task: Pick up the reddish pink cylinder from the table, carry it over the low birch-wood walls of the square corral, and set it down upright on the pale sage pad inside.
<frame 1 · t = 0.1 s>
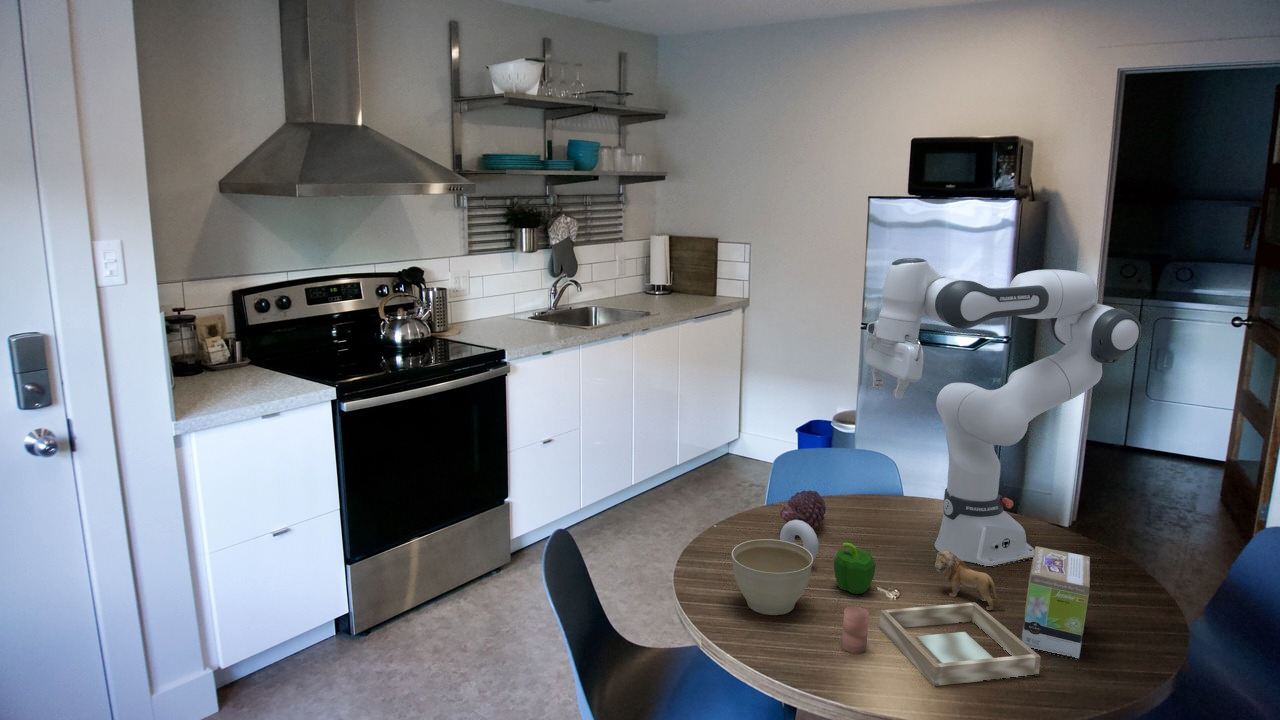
hand: (887, 393, 186), 39 cm above the table, tool pointing down, fingers open, 8 cm apart
donut: (797, 563, 190), on the table
bell pepper: (853, 589, 178), on the table
planter bowl: (769, 605, 170), on the table
lion figurine: (965, 600, 174), on the table
tea box: (1051, 636, 160), on the table
corral: (955, 649, 154), on the table
pine cone: (805, 530, 209), on the table
reddish pink cylinder: (854, 647, 154), on the table
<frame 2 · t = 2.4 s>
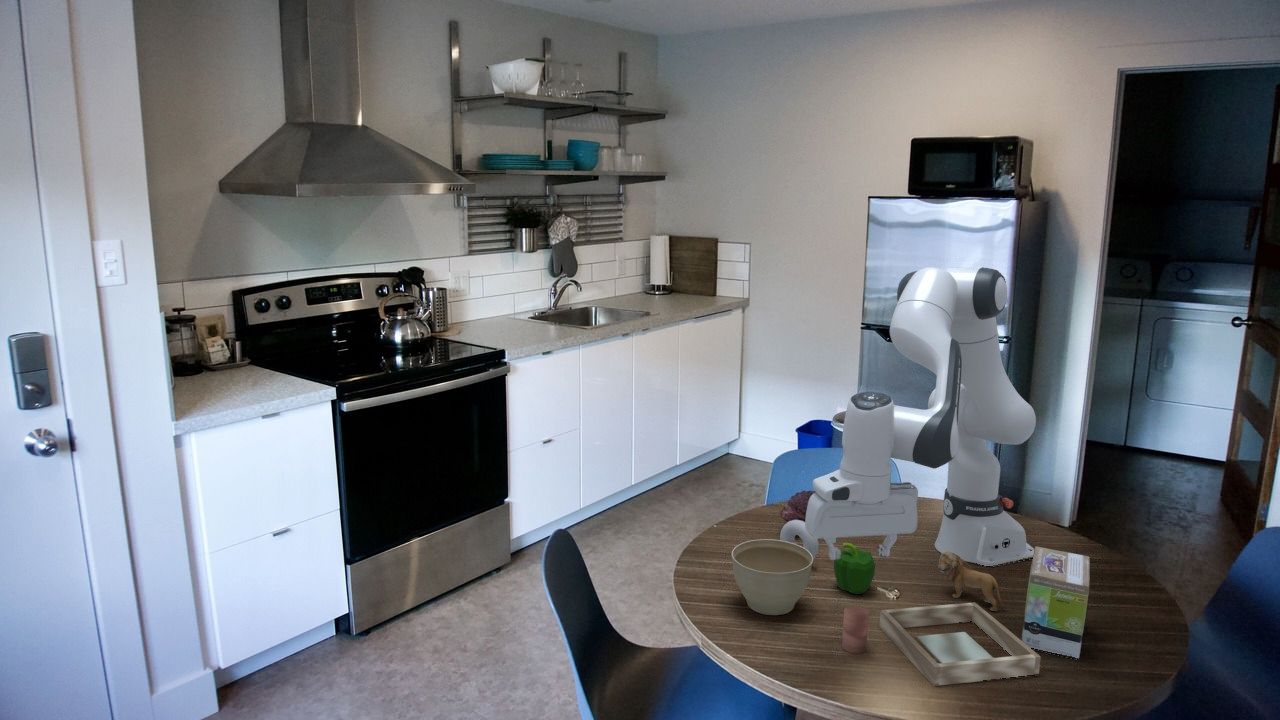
hand: (858, 557, 151), 18 cm above the table, tool pointing down, fingers open, 8 cm apart
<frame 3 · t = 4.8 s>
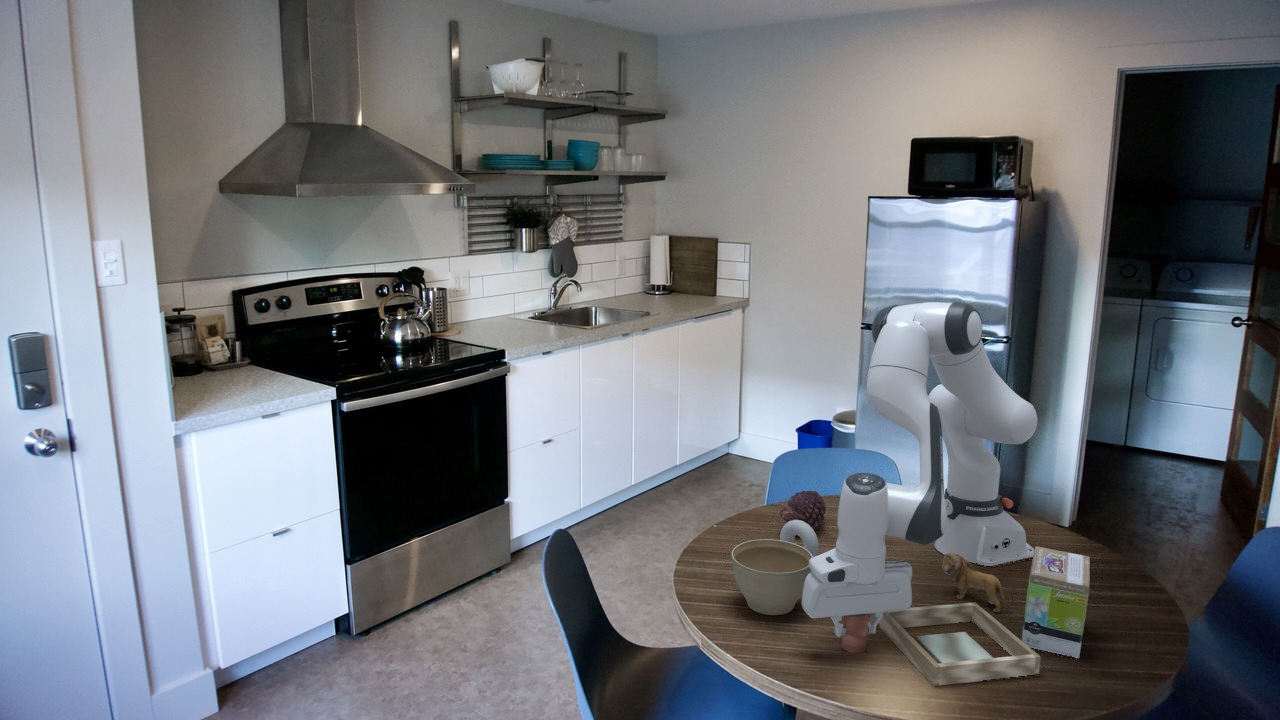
hand: (854, 633, 154), 3 cm above the table, tool pointing down, fingers closed on reddish pink cylinder, 4 cm apart
reddish pink cylinder: (854, 647, 154), on the table, touching gripper
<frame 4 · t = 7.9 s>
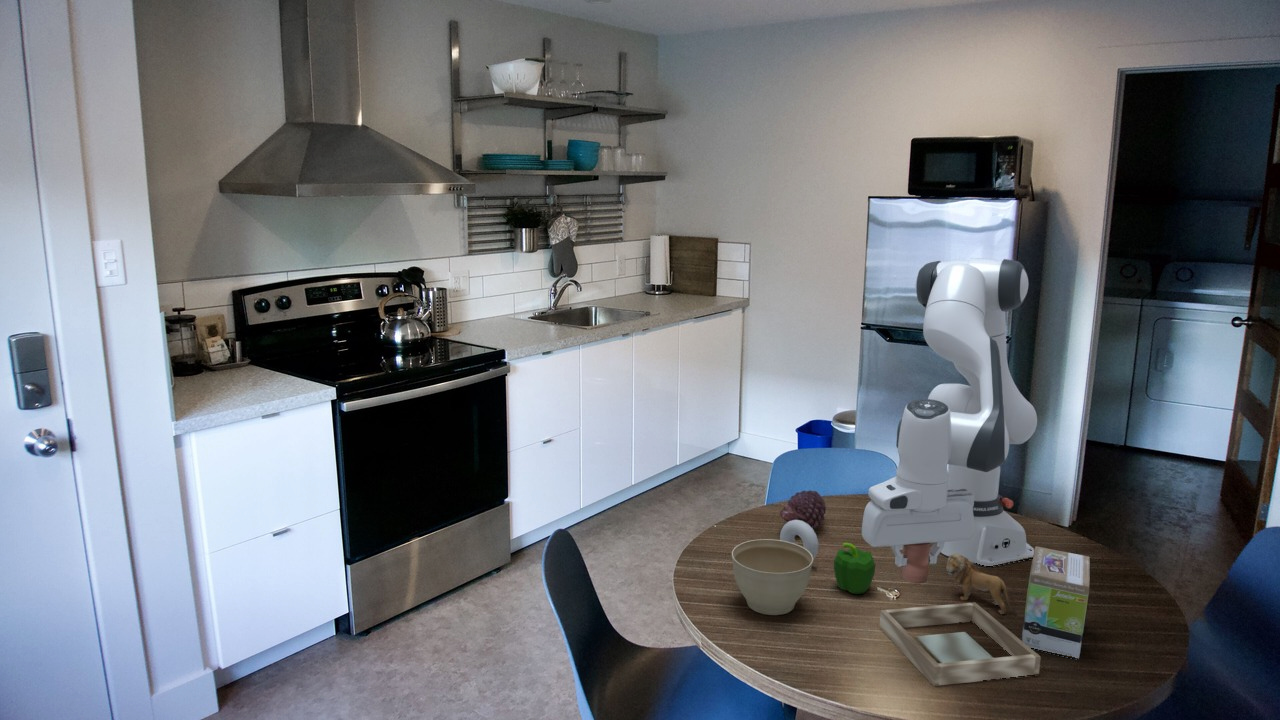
hand: (915, 564, 151), 16 cm above the table, tool pointing down, fingers closed on reddish pink cylinder, 4 cm apart
reddish pink cylinder: (914, 577, 152), point 14 cm above the table, touching gripper
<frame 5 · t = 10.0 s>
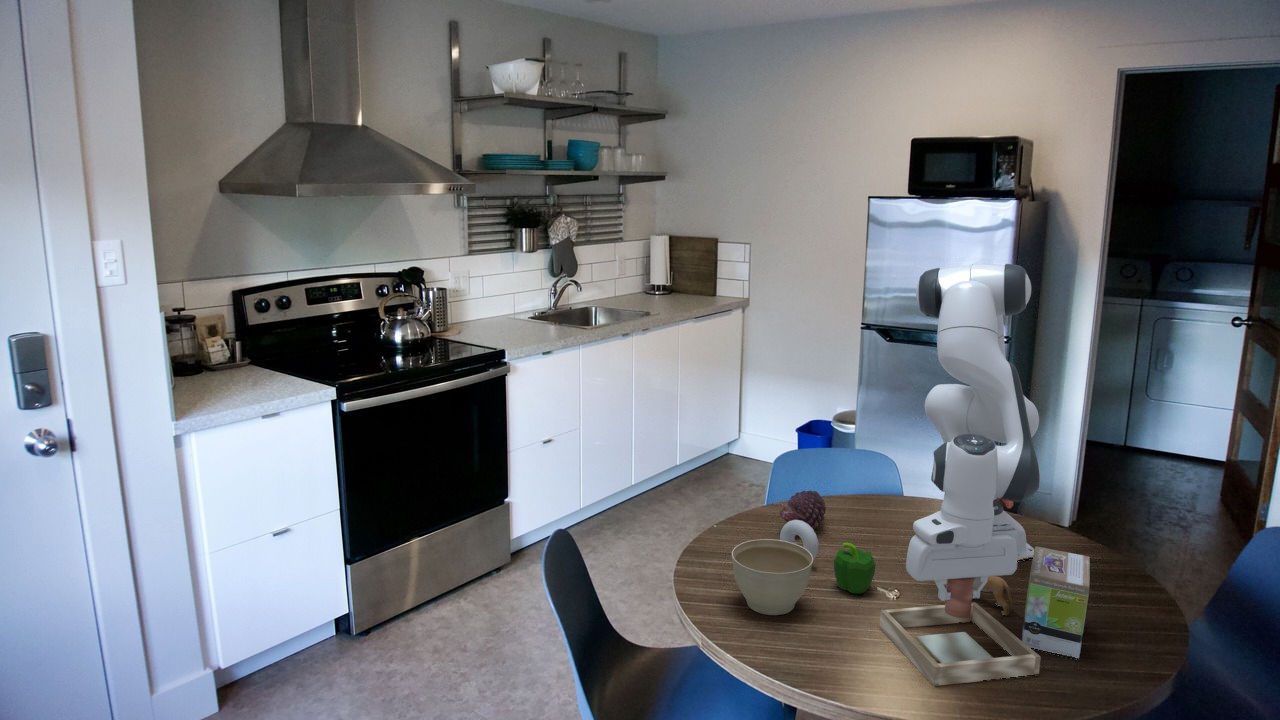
hand: (958, 598, 152), 10 cm above the table, tool pointing down, fingers closed on reddish pink cylinder, 4 cm apart
reddish pink cylinder: (957, 611, 152), point 8 cm above the table, touching gripper
when the fingers open (4 cm above the table, at t = 11.4 s): reddish pink cylinder drops 1 cm, resting on corral.
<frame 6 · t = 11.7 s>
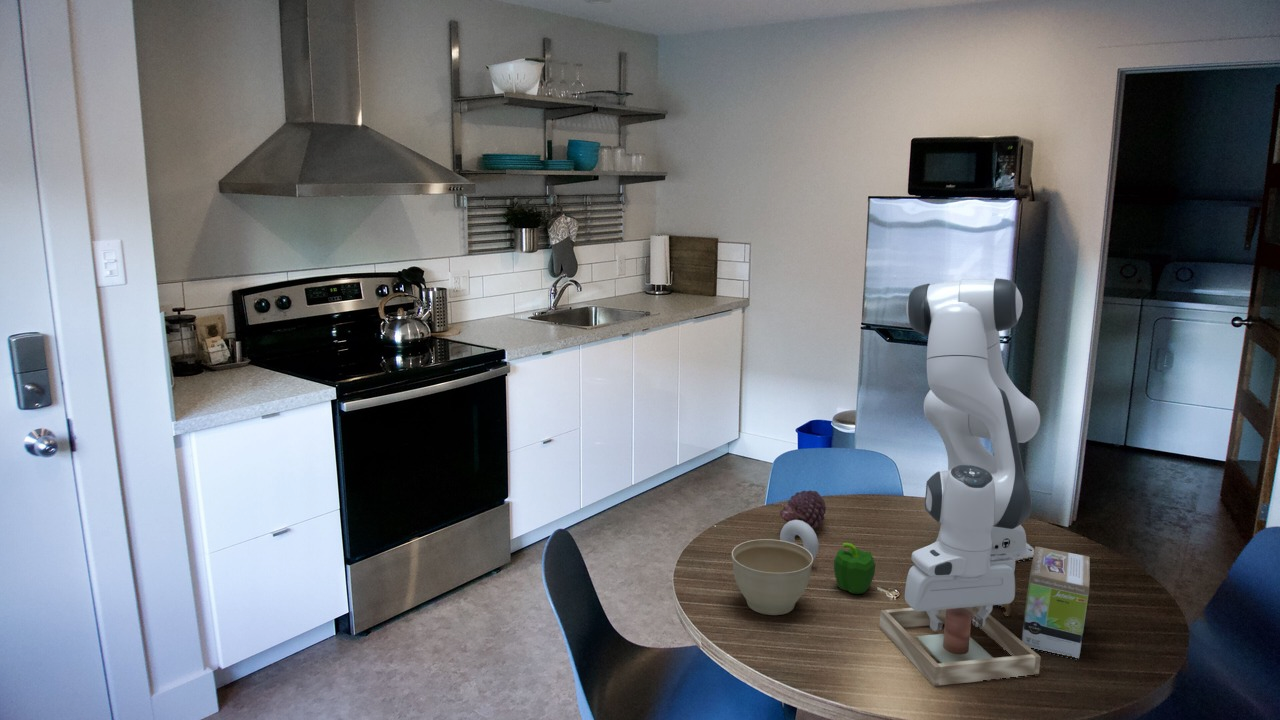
hand: (957, 627, 153), 4 cm above the table, tool pointing down, fingers open, 7 cm apart
reddish pink cylinder: (955, 647, 154), resting on corral
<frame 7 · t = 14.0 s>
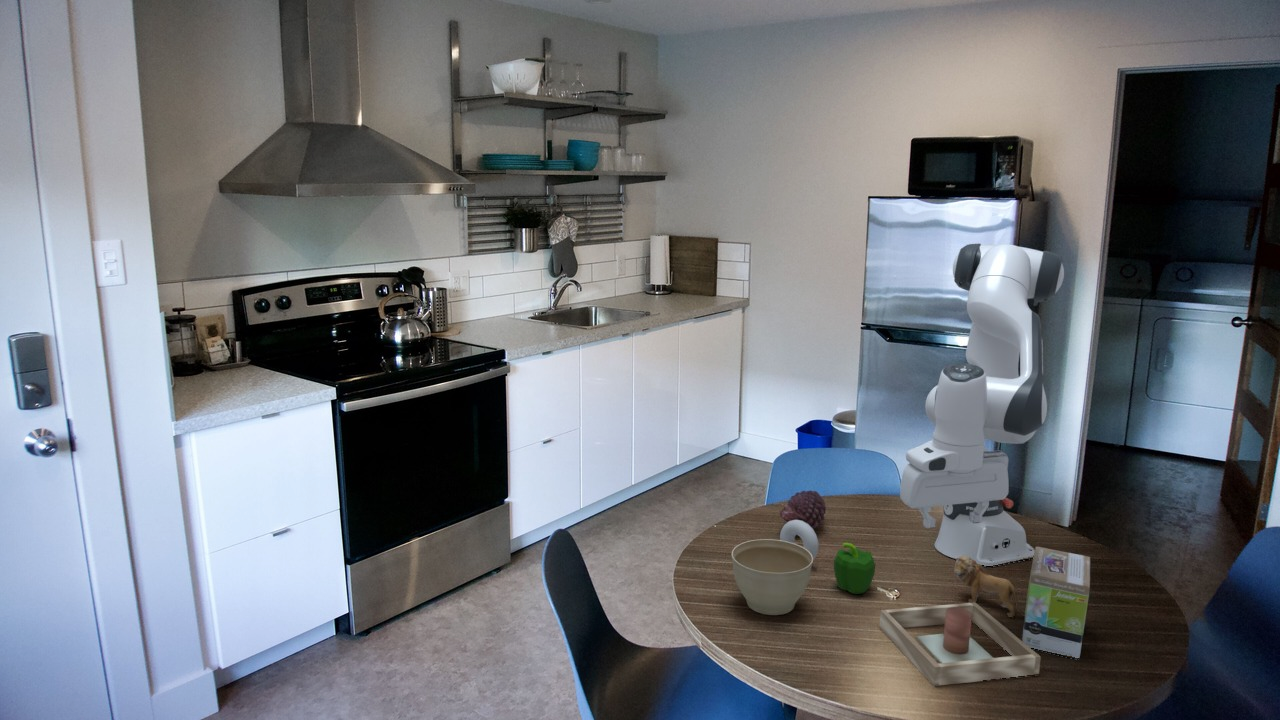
hand: (952, 524, 156), 22 cm above the table, tool pointing down, fingers open, 8 cm apart
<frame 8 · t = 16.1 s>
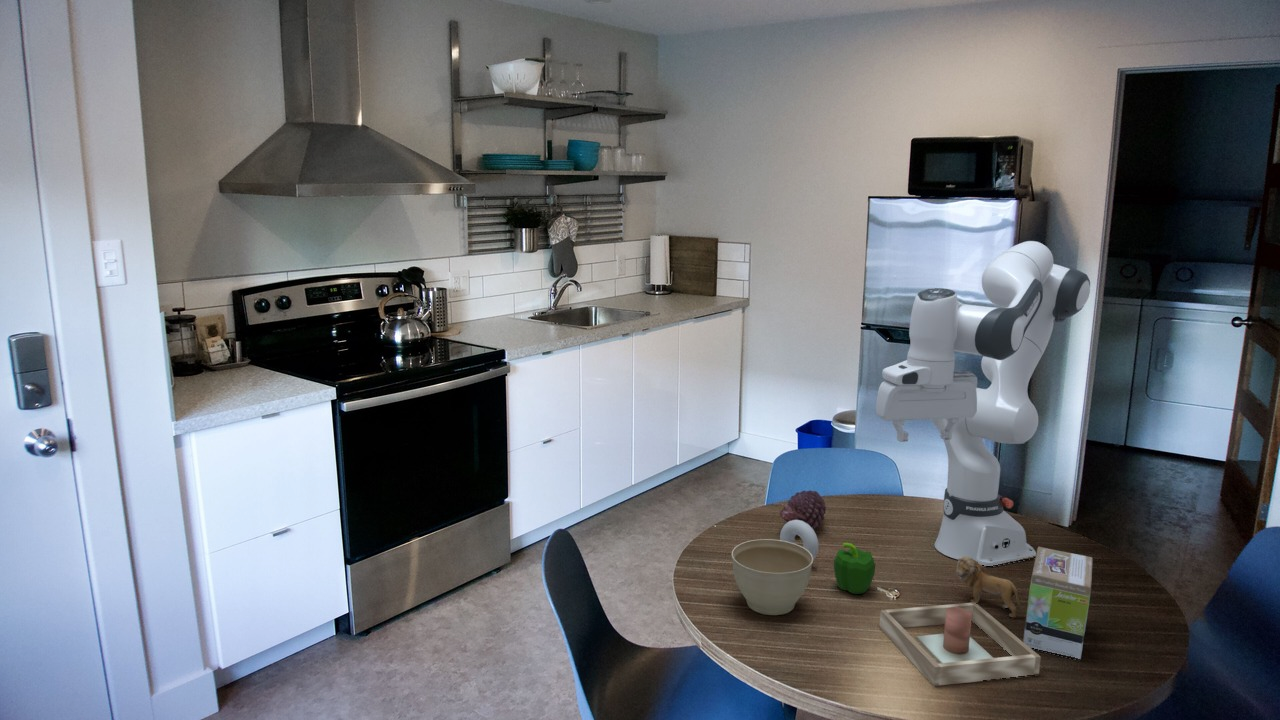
hand: (924, 439, 167), 34 cm above the table, tool pointing down, fingers open, 8 cm apart
at the end: reddish pink cylinder inside the target area on the corral (0.1 cm from its centre), point 0.4 cm above the corral's base; reddish pink cylinder tilted 1°; the gripper is holding nothing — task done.
